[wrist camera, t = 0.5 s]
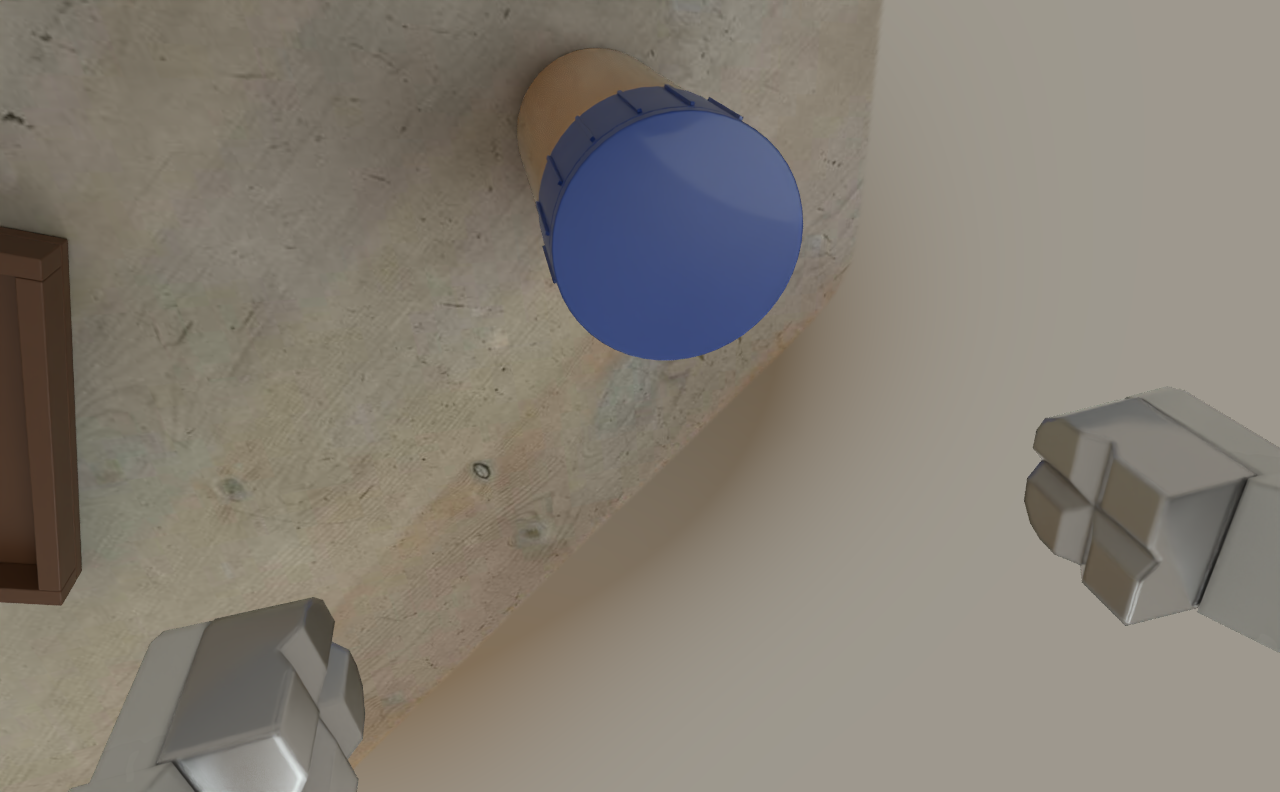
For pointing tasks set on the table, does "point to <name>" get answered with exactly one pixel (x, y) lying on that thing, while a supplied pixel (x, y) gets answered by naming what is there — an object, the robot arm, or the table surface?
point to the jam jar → (572, 99)
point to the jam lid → (668, 223)
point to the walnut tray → (37, 422)
